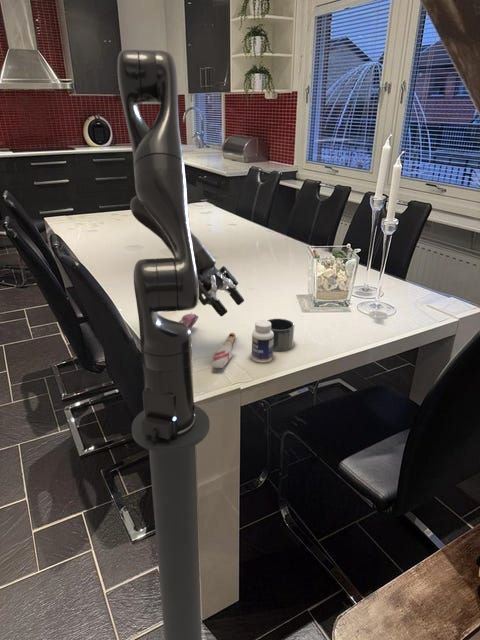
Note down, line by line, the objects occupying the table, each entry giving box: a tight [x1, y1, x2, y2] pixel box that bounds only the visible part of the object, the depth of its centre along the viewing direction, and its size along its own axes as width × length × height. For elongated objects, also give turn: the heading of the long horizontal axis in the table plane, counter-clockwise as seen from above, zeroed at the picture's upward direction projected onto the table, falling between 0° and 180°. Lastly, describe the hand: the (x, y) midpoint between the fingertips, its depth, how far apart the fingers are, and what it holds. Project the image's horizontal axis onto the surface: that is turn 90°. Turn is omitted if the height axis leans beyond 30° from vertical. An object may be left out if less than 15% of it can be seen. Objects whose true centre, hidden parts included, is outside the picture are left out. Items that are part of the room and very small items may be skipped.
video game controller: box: [178, 312, 199, 331], centre depth 131 cm, size 10×5×7 cm, turn 159°
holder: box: [266, 318, 295, 352], centre depth 125 cm, size 8×8×6 cm
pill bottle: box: [251, 319, 274, 363], centre depth 117 cm, size 5×5×10 cm
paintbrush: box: [211, 332, 236, 369], centre depth 120 cm, size 4×3×20 cm
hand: (233, 308), depth 114 cm, fingers open, 8 cm apart
